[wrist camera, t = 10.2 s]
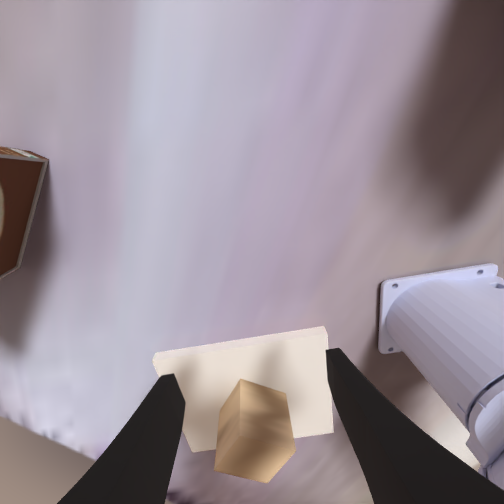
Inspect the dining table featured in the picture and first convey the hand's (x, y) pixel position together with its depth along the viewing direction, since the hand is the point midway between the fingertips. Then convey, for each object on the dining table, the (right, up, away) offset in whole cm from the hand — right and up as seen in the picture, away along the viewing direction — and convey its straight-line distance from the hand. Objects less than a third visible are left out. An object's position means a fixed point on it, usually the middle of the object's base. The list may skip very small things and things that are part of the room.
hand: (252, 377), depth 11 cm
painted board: (0, -9, +14) cm, 16 cm away
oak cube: (0, -9, +13) cm, 16 cm away
